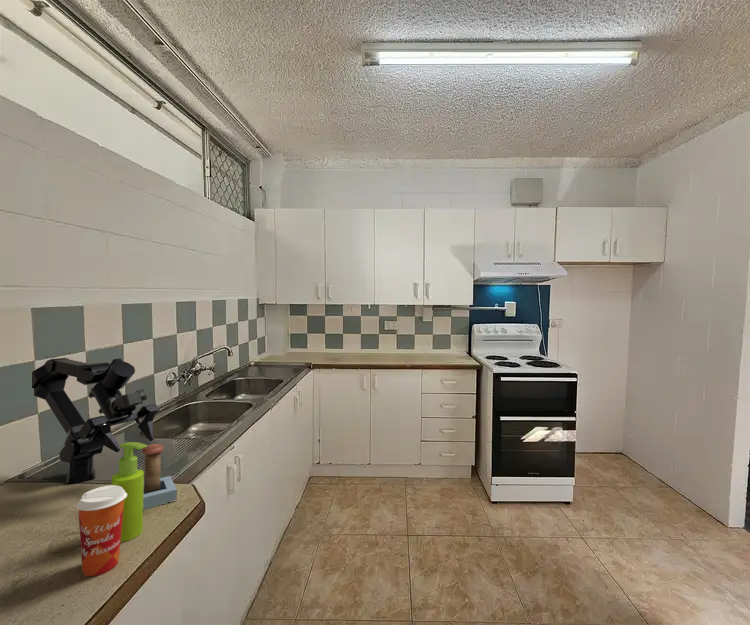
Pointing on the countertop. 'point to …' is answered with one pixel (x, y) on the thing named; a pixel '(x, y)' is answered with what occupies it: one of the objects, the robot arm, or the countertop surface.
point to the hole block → (160, 494)
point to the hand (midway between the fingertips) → (136, 445)
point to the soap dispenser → (131, 491)
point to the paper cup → (101, 528)
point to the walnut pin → (152, 467)
